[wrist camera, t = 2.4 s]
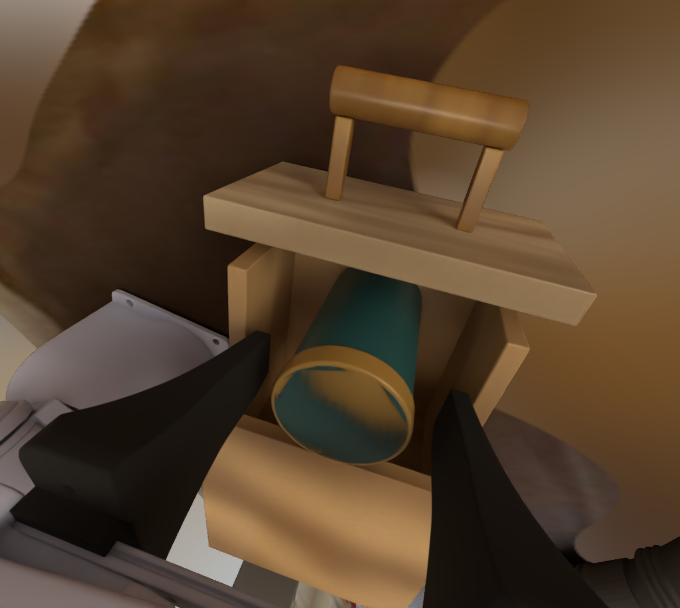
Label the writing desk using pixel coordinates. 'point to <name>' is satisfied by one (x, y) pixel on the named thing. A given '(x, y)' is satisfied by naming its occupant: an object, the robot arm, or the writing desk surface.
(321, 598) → the cassette tape recorder
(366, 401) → the tea tin
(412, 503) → the cabinet
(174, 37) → the writing desk surface
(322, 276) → the drawer
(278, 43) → the writing desk surface
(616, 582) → the flashlight
